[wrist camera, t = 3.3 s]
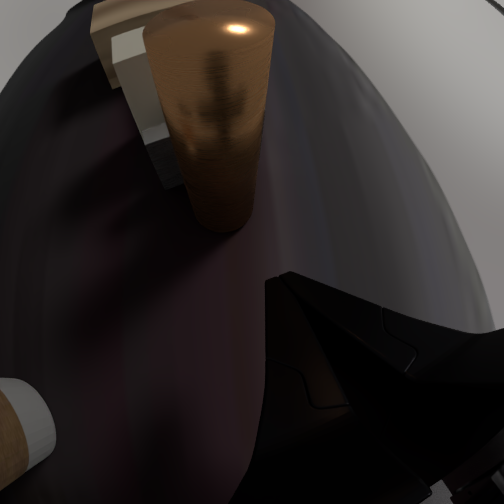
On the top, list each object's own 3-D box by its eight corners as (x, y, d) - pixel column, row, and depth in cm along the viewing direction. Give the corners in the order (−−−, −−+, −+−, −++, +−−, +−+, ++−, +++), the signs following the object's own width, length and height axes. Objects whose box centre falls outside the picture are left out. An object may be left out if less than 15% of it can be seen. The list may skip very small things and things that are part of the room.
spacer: (248, 130, 19) (254, 28, 11) (151, 159, 18) (112, 64, 10) (234, 102, 20) (234, 6, 12) (144, 129, 19) (111, 37, 11)
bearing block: (234, 54, 22) (234, -5, 15) (112, 89, 20) (90, 33, 14) (213, 23, 23) (211, -26, 17) (110, 52, 22) (94, 5, 16)
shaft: (282, 214, 17) (340, 40, 6) (182, 248, 16) (96, 91, 5) (190, 26, 23) (181, -69, 11) (132, 43, 22) (109, -51, 11)
